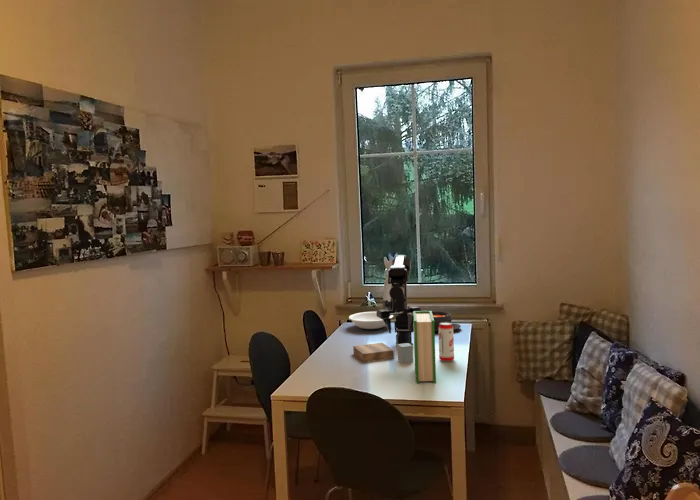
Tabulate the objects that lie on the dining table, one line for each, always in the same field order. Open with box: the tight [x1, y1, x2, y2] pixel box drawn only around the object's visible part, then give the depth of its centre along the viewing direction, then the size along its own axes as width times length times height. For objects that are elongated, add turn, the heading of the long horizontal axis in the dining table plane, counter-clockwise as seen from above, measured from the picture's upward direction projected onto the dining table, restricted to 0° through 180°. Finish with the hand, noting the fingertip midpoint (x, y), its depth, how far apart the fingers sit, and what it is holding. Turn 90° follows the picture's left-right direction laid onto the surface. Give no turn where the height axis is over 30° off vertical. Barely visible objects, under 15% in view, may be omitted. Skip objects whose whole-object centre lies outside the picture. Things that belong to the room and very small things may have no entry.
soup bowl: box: [348, 311, 394, 330], centre depth 305 cm, size 24×24×7 cm
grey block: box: [396, 343, 414, 364], centre depth 243 cm, size 5×5×7 cm
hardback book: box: [413, 310, 437, 385], centre depth 221 cm, size 18×7×24 cm, turn 175°
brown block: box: [352, 342, 395, 363], centre depth 253 cm, size 14×14×4 cm
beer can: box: [438, 322, 455, 363], centre depth 240 cm, size 6×6×16 cm
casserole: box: [431, 310, 461, 333], centre depth 296 cm, size 25×19×8 cm
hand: (399, 331), depth 243 cm, fingers open, 9 cm apart
